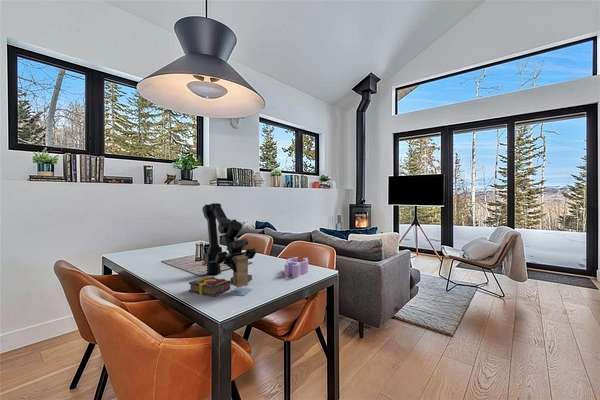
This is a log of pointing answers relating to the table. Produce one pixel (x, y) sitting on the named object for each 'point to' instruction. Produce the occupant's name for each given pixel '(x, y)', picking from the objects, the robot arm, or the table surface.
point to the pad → (240, 291)
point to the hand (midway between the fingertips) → (241, 271)
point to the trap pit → (248, 278)
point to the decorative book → (209, 286)
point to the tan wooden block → (240, 271)
